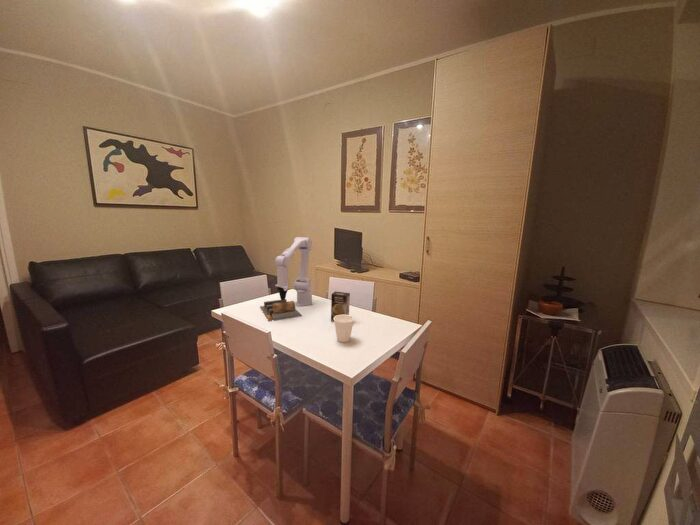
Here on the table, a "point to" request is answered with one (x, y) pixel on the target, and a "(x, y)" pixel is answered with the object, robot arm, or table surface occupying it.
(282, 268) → the robot arm
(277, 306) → the brown wooden block
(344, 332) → the cup
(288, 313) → the rack
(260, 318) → the table surface
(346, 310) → the coffee box
